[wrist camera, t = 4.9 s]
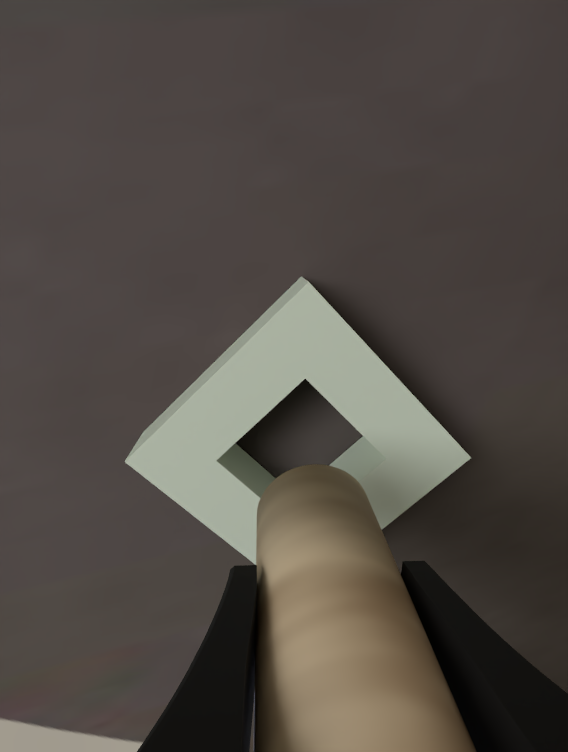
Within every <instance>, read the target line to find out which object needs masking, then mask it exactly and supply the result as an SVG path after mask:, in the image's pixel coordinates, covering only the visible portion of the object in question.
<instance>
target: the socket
mask: <svg viewBox="0 0 568 752" xmlns="http://www.w3.org/2000/svg"><path fill="white" fill-rule="evenodd" d="M304 379H306V380H307V381H308V382H309V383H310V384H311V385H312V386H313V387H314V388H315V389H316V390H317V391H318V392H319V393H320V394H321V395H322V396H323V397H324V398H325V399H327V400H328V401H329V402H330V403H331V404H332V405H333V406H334V407H335V408H336V409H337V410H338V411H339V412H340V413H341V414H342V415H343V416H344V417H345V418H346V419H347V420H348V421H349V422H350V423H351V424H352V425H353V426H354V427H355V428H356V429H357V430H358V431H359V432H360V433H361V434H362V435H363V437H361V438H360V439H359V440H358V441H357V442H356V443H354V444H353V445H352V446H351V447H350V448H349V449H347V450H346V451H345V452H344V453H343V454H342V455H341V456H339V457H338V458H337V459H336V460H335V461H334V462H332V463H331V464H330V465H329V466H333V467H336V468H339V469H341V470H343V471H345V472H347V473H349V474H350V475H352V476H353V477H354V478H355V479H356V480H357V481H358V482H359V483H360V484H361V486H362V487H363V489H364V491H365V493H366V495H367V497H368V500H369V502H370V504H371V507H372V509H373V511H374V514H375V516H376V518H377V521H378V523H379V525H380V528H381V530H382V529H383V528H385V527H386V526H387V525H388V524H390V523H391V522H392V521H393V520H395V519H396V518H397V517H398V516H400V515H401V514H402V513H403V512H405V511H406V510H407V509H408V508H409V507H411V506H412V505H413V504H414V503H416V502H417V501H418V500H419V499H421V498H422V497H423V496H424V495H426V494H427V493H428V492H429V491H431V490H432V489H433V488H434V487H436V486H437V485H438V484H439V483H441V482H442V481H443V480H444V479H446V478H447V477H448V476H449V475H451V474H452V473H453V472H454V471H456V470H457V469H458V468H459V467H461V466H462V465H463V464H464V463H466V462H467V461H468V460H469V459H470V458H471V457H470V456H469V455H468V454H467V453H466V452H465V451H464V449H463V448H462V447H461V446H460V445H459V444H458V443H457V442H456V441H455V440H454V439H453V438H452V436H451V435H450V434H449V433H448V432H447V431H446V430H445V429H444V428H443V427H442V426H441V425H440V423H439V422H438V421H437V420H436V419H435V418H434V417H433V416H432V415H431V414H430V413H429V412H428V410H427V409H426V408H425V407H424V406H423V405H422V404H421V403H420V402H419V401H418V400H417V399H416V397H415V396H414V395H413V394H412V393H411V392H410V391H409V390H408V389H407V388H406V387H405V386H404V384H403V383H402V382H401V381H400V380H399V379H398V378H397V377H396V376H395V375H394V374H393V373H392V371H391V370H390V369H389V368H388V367H387V366H386V365H385V364H384V363H383V362H382V361H381V360H380V358H379V357H378V356H377V355H376V354H375V353H374V352H373V351H372V350H371V349H370V348H369V347H368V345H367V344H366V343H365V342H364V341H363V340H362V339H361V338H360V337H359V336H358V335H357V334H356V332H355V331H354V330H353V329H352V328H351V327H350V326H349V325H348V324H347V323H346V322H345V321H344V319H343V318H342V317H341V316H340V315H339V314H338V313H337V312H336V311H335V310H334V309H333V308H332V306H331V305H330V304H329V303H328V302H327V301H326V300H325V299H324V298H323V297H322V296H321V295H320V293H319V292H318V291H317V290H316V289H315V288H314V287H313V286H312V285H311V284H310V283H309V282H308V281H307V280H305V279H304V278H303V277H300V278H299V279H298V280H297V281H296V282H295V283H294V284H293V285H292V286H291V287H290V288H289V289H288V290H287V291H286V292H285V293H284V294H283V295H282V296H281V297H280V298H279V299H278V300H277V301H276V302H275V303H274V304H273V305H272V306H271V307H270V308H269V309H268V310H267V311H266V312H265V313H264V314H263V315H262V316H261V317H260V318H259V319H258V320H257V321H256V322H255V323H254V324H253V325H252V326H251V327H250V328H249V329H247V330H246V331H245V332H244V333H243V334H242V335H241V336H240V337H239V338H238V339H237V340H236V341H235V342H234V343H233V344H232V345H231V346H230V347H229V348H228V349H227V350H226V351H225V352H224V353H223V354H222V355H221V356H220V357H219V358H218V359H217V360H216V361H215V362H214V363H213V364H212V365H211V366H210V367H209V368H208V369H207V370H206V371H205V372H204V373H203V374H202V375H201V376H200V377H199V378H198V379H197V380H196V381H195V382H194V383H193V384H192V385H191V386H190V387H189V388H188V389H187V390H186V391H184V392H183V393H182V394H181V395H180V396H179V397H178V398H177V399H176V400H175V401H174V402H173V403H172V404H171V405H170V406H169V407H168V408H167V409H166V410H165V411H164V412H163V413H162V414H161V415H160V416H159V417H158V418H157V419H156V420H155V421H154V422H153V423H152V424H151V425H150V426H149V427H148V428H147V429H146V430H145V431H144V432H143V433H142V435H141V436H140V438H139V440H138V441H137V443H136V444H135V446H134V448H133V449H132V451H131V452H130V454H129V456H128V457H127V459H126V460H125V462H126V463H127V464H128V465H130V466H131V467H132V468H133V469H135V470H136V471H137V472H138V473H140V474H141V475H142V476H143V477H145V478H146V479H147V480H149V481H150V482H151V483H152V484H154V485H155V486H156V487H157V488H159V489H160V490H161V491H163V492H164V493H165V494H166V495H168V496H169V497H170V498H171V499H173V500H174V501H175V502H177V503H178V504H179V505H180V506H182V507H183V508H184V509H185V510H187V511H188V512H189V513H191V514H192V515H193V516H194V517H196V518H197V519H198V520H199V521H201V522H202V523H203V524H204V525H206V526H207V527H208V528H210V529H211V530H212V531H213V532H215V533H216V534H217V535H218V536H220V537H221V538H222V539H224V540H225V541H226V542H227V543H229V544H230V545H231V546H232V547H234V548H235V549H236V550H238V551H239V552H240V553H241V554H243V555H244V556H245V557H246V558H248V559H249V560H250V561H252V562H253V563H254V564H255V565H256V538H257V508H258V504H259V501H260V498H261V496H262V494H263V493H264V491H265V489H266V488H267V487H268V486H269V484H270V483H272V482H273V481H274V480H275V479H276V478H275V477H273V476H272V475H271V474H270V473H269V472H268V471H267V470H265V469H264V468H263V467H262V466H261V465H260V464H259V463H257V462H256V461H255V460H254V459H253V458H252V457H251V456H249V455H248V454H247V453H246V452H245V451H244V450H243V449H241V448H240V447H239V446H238V445H237V444H236V442H237V441H238V440H239V439H240V438H241V437H242V436H243V435H245V434H246V433H247V432H248V431H249V430H250V429H251V428H252V427H253V426H254V425H255V424H256V423H258V422H259V421H260V420H261V419H262V418H263V417H264V416H265V415H266V414H267V413H268V412H269V411H271V410H272V409H273V408H274V407H275V406H276V405H277V404H278V403H279V402H280V401H281V400H282V399H284V398H285V397H286V396H287V395H288V394H289V393H290V392H291V391H292V390H293V389H294V388H295V387H296V386H298V385H299V384H300V383H301V382H302V381H303V380H304Z"/></svg>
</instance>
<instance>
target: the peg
mask: <svg viewBox="0 0 568 752" xmlns="http://www.w3.org/2000/svg"><path fill="white" fill-rule="evenodd" d="M256 565H257V618H256V635H255V711H254V752H477V751H476V749H475V746H474V744H473V742H472V739H471V737H470V735H469V732H468V730H467V728H466V725H465V723H464V721H463V718H462V716H461V714H460V711H459V709H458V707H457V704H456V702H455V700H454V698H453V695H452V693H451V691H450V688H449V686H448V684H447V681H446V679H445V677H444V674H443V672H442V670H441V667H440V665H439V663H438V660H437V658H436V656H435V653H434V651H433V649H432V646H431V644H430V642H429V639H428V637H427V635H426V632H425V630H424V628H423V625H422V623H421V621H420V618H419V616H418V614H417V611H416V609H415V607H414V604H413V602H412V600H411V597H410V595H409V593H408V590H407V588H406V586H405V583H404V581H403V579H402V576H401V574H400V572H399V569H398V567H397V565H396V562H395V560H394V558H393V555H392V553H391V551H390V548H389V546H388V544H387V542H386V539H385V537H384V535H383V532H382V530H381V528H380V525H379V523H378V521H377V518H376V516H375V514H374V511H373V509H372V507H371V504H370V502H369V500H368V497H367V495H366V493H365V491H364V489H363V487H362V486H361V484H360V483H359V482H358V481H357V480H356V479H355V478H354V477H353V476H352V475H350V474H349V473H347V472H345V471H343V470H341V469H339V468H336V467H333V466H328V465H319V464H314V465H305V466H300V467H297V468H294V469H291V470H289V471H287V472H285V473H283V474H281V475H280V476H279V477H277V478H276V479H275V480H274V481H273V482H272V483H270V484H269V486H268V487H267V488H266V489H265V491H264V493H263V494H262V496H261V498H260V501H259V504H258V508H257V538H256Z"/></svg>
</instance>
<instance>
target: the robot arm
mask: <svg viewBox="0 0 568 752" xmlns="http://www.w3.org/2000/svg"><path fill="white" fill-rule="evenodd" d="M401 576H402V579H403V581H404V583H405V586H406V588H407V590H408V593H409V595H410V597H411V600H412V602H413V604H414V607H415V609H416V611H417V614H418V616H419V618H420V621H421V623H422V625H423V628H424V630H425V632H426V635H427V637H428V639H429V642H430V644H431V646H432V649H433V651H434V653H435V656H436V658H437V660H438V663H439V665H440V667H441V670H442V672H443V674H444V677H445V679H446V681H447V684H448V686H449V688H450V691H451V693H452V695H453V698H454V700H455V702H456V704H457V707H458V709H459V711H460V714H461V716H462V718H463V721H464V723H465V725H466V728H467V730H468V732H469V735H470V737H471V739H472V742H473V744H474V746H475V749H476V751H477V752H568V694H567V693H566V692H565V691H564V690H562V689H561V688H560V687H559V686H557V685H556V684H555V683H554V682H552V681H551V680H550V679H549V678H547V677H546V676H545V675H544V674H542V673H541V672H540V671H539V670H537V669H536V668H535V667H534V666H533V665H532V664H530V663H529V662H528V661H527V660H526V659H525V658H523V657H522V656H521V655H520V654H519V653H518V652H517V651H516V650H514V649H513V648H512V647H511V646H510V645H509V644H508V643H507V642H505V641H504V640H503V639H502V638H501V637H500V636H499V635H498V634H497V633H496V632H495V631H494V630H492V629H491V628H490V627H489V626H488V625H487V624H486V623H485V622H484V621H483V620H482V619H481V618H480V617H479V616H478V615H477V614H476V613H475V612H474V611H473V610H472V609H471V608H470V607H469V606H468V605H467V604H466V603H465V602H464V601H463V600H462V599H461V598H460V597H459V596H458V595H457V594H456V593H455V592H454V591H453V590H452V589H451V588H450V587H449V586H448V585H447V584H446V583H445V582H444V581H443V580H442V579H441V578H440V576H439V575H438V574H437V573H436V572H435V571H434V570H433V569H432V568H431V567H430V566H429V565H428V564H427V563H426V562H425V561H403V564H402V572H401ZM256 618H257V565H248V566H234V567H233V568H232V569H230V574H229V578H228V581H227V585H226V588H225V591H224V593H223V596H222V599H221V601H220V604H219V606H218V609H217V611H216V614H215V616H214V618H213V620H212V623H211V625H210V627H209V629H208V632H207V634H206V636H205V638H204V640H203V642H202V644H201V646H200V648H199V650H198V652H197V654H196V656H195V658H194V660H193V662H192V663H191V665H190V667H189V669H188V671H187V673H186V675H185V676H184V678H183V680H182V682H181V684H180V685H179V687H178V689H177V690H176V692H175V694H174V695H173V697H172V699H171V700H170V702H169V704H168V705H167V707H166V709H165V710H164V712H163V713H162V715H161V716H160V718H159V720H158V721H157V723H156V724H155V726H154V727H153V729H152V730H151V732H150V733H149V735H148V736H147V738H146V739H145V741H144V742H143V744H142V745H141V747H140V748H139V750H138V751H137V752H249V748H250V737H251V726H252V714H253V703H254V711H255V635H256Z"/></svg>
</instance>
